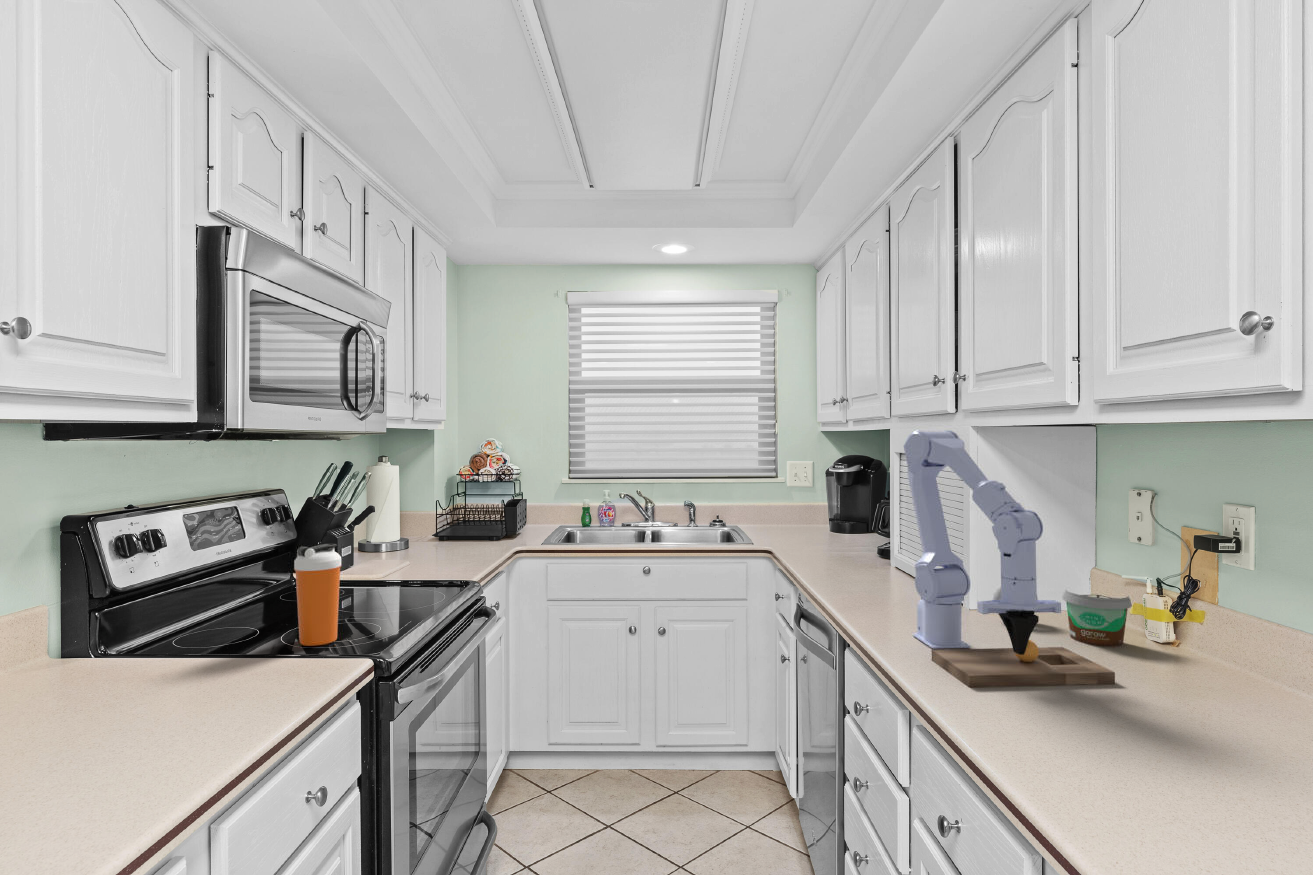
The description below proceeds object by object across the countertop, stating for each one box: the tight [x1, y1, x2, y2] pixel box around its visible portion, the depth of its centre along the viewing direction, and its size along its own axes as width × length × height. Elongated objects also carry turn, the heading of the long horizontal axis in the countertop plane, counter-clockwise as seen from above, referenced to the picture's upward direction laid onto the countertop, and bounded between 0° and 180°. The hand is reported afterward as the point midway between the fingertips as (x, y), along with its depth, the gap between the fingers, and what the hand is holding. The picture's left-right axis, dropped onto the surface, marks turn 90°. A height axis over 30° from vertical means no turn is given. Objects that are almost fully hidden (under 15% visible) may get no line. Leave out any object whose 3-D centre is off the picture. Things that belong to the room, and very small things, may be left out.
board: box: [931, 646, 1116, 688], centre depth 125 cm, size 14×26×2 cm, turn 93°
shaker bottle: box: [293, 543, 342, 647], centre depth 144 cm, size 9×9×20 cm
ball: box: [1015, 639, 1039, 662], centre depth 124 cm, size 4×4×4 cm
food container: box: [1061, 589, 1132, 648], centre depth 141 cm, size 12×6×10 cm, turn 62°
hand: (1019, 652), depth 124 cm, fingers closed, pressing on ball
